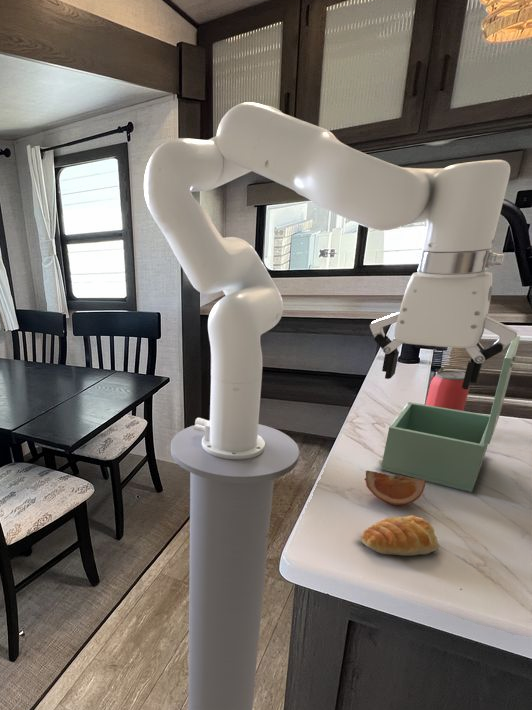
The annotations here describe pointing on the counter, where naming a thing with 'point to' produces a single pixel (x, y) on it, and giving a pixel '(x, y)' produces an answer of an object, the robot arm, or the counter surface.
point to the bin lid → (505, 385)
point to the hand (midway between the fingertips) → (426, 381)
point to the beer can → (447, 390)
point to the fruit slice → (394, 487)
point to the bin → (437, 445)
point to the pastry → (401, 536)
